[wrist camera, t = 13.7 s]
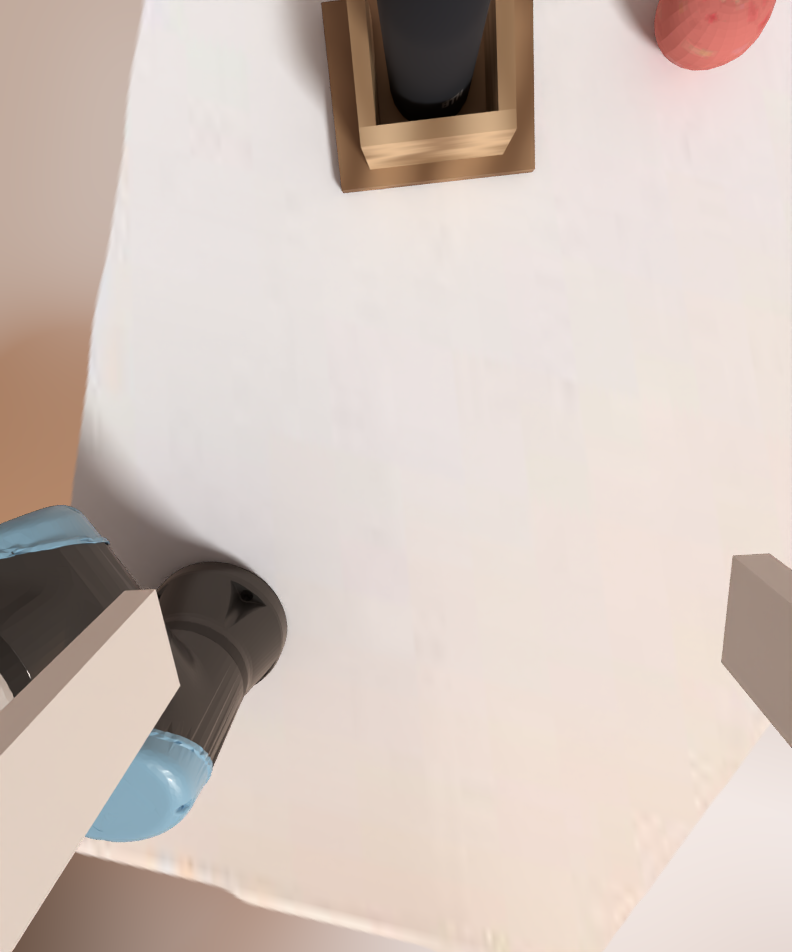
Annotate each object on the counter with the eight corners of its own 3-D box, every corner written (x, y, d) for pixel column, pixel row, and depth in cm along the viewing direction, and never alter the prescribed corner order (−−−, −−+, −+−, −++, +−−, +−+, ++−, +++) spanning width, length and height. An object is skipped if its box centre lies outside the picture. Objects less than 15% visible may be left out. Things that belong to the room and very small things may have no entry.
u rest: (343, 193, 47) (327, 171, 39) (323, 10, 43) (301, -55, 35) (532, 172, 45) (554, 145, 38) (529, -18, 42) (553, -92, 34)
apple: (642, -23, 41) (691, -96, 34) (743, -32, 41) (816, -109, 33) (634, 91, 43) (679, 47, 36) (729, 84, 43) (795, 37, 35)
